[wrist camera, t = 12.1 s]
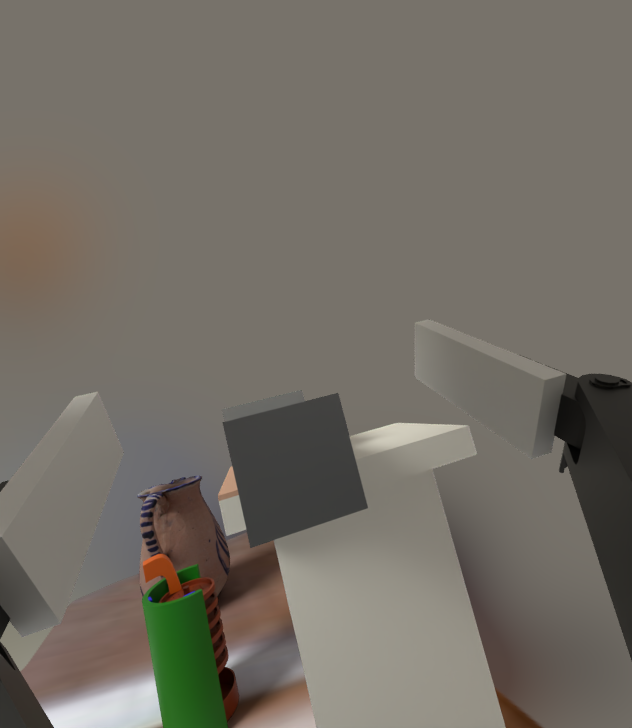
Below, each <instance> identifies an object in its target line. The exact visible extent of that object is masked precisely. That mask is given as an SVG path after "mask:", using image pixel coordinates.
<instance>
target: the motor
mask: <svg viewBox="0 0 632 728" xmlns="http://www.w3.org/2000/svg"><path fill="white" fill-rule="evenodd" d="M143 570H144V575H145V581H146V583H147V582H149V581H150V580H152V579H154V578H156V577H158V576H164V577H165V578H164V579H162V580H160V581H159V582H157V583H156V584H155V585H153V586H152V587H151V588H150V589H149V590H148V591H147V592H146V593H145V595H144V596H143V598H142V603H143V609H144V615H145V621H146V627H147V633H148V639H149V645H150V651H151V657H152V663H153V669H154V675H155V681H156V687H157V693H158V699H159V705H160V711H161V717H162V723H163V728H228V725H227V721H228V720H229V719H230V717H231V716H232V714H233V713H234V711H235V709H236V707H237V705H238V701H239V693H238V688H237V683H236V678H235V673H234V672H233V670H231V669H230V668H227V667H225V665H226V663H227V661H228V650H227V647H226V645H225V644H226V640H225V635H224V633H223V624H222V620H221V619H220V609H219V606H218V605H217V603H218V598H217V593H216V592H215V591H214V590H215V582H214V580H213V579H212V578H209V577H203V578H201V576H200V571H199V565H198V564H196V565H193V566H189V567H187V568H184V569H182V570H179V571H177V572H176V571H175V568H174V566H173V564H172V562H171V560H170V559H169V558H168V557H167V556H166V555H165V554H157V555H155V556H153V557H151V558H149V559H147V560H145V561H144V562H143Z"/></svg>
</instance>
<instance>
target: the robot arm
mask: <svg viewBox="0 0 632 728" xmlns="http://www.w3.org/2000/svg"><path fill="white" fill-rule="evenodd" d="M415 378H417V379H418V380H420V381H421V382H423V383H424V384H425V385H427V386H428V387H430V388H431V389H432V390H434V391H435V392H437V393H439V394H440V395H441V396H442V397H444V398H445V399H447V400H448V401H450V402H451V403H452V404H454V405H455V406H457V407H458V408H460V409H461V410H462V411H464V412H465V413H467V414H468V415H470V416H471V417H472V418H474V419H475V420H477V421H478V422H480V423H481V424H482V425H484V426H485V427H487V428H488V429H489V430H491V431H492V432H494V433H495V434H497V435H498V436H499V437H501V438H502V439H504V440H505V441H507V442H508V443H509V444H511V445H512V446H514V447H515V448H517V449H518V450H519V451H521V452H522V453H524V454H525V455H527V456H528V457H529V458H531V459H533V458H536V457H539V456H542V455H545V454H548V453H551V451H552V446H553V441H554V436H557V437H558V438H560V439H562V440H564V441H565V444H564V449H563V454H562V458H561V463H560V468H559V472H561V473H563V472H564V468H566V467H567V466H568V468H569V471H570V474H571V478H572V481H573V484H574V487H575V489H576V493H577V496H578V499H579V502H580V505H581V508H582V511H583V514H584V517H585V520H586V523H587V526H588V529H589V532H590V535H591V538H592V541H593V544H594V547H595V550H596V553H597V556H598V560H599V563H600V566H601V569H602V572H603V574H604V578H605V581H606V584H607V586H608V590H609V593H610V596H611V599H612V602H613V605H614V608H615V611H616V614H617V617H618V620H619V623H620V626H621V629H622V632H623V636H624V639H625V642H626V645H627V647H628V650H629V654H630V657H631V660H632V383H631V382H630V381H628V380H626V379H623V378H620V377H615V376H612V375H605V374H588V375H582V376H581V377H579V378H577V377H574V376H572V375H569V374H567V373H564V372H561V371H559V370H557V369H554V368H551V367H549V366H546V365H543V364H541V363H539V362H536V361H533V360H531V359H529V358H526V357H524V356H521V355H518V354H515V353H512V352H510V351H508V350H505V349H503V348H500V347H497V346H495V345H493V344H490V343H488V342H485V341H483V340H480V339H477V338H475V337H472V336H470V335H467V334H465V333H462V332H460V331H457V330H455V329H452V328H450V327H447V326H445V325H442V324H440V323H437V322H435V321H432V320H430V319H429V320H424V321H420V322H415ZM123 453H124V452H123V449H122V447H121V445H120V442H119V440H118V438H117V436H116V433H115V431H114V428H113V426H112V423H111V421H110V419H109V416H108V414H107V412H106V410H105V407H104V405H103V402H102V400H101V398H100V395H99V393H98V392H95V393H90V394H85V395H81V396H76V397H74V399H73V400H72V401H71V403H70V404H69V405H68V406H67V408H66V409H65V410H64V411H63V413H62V414H61V415H60V417H59V418H58V419H57V420H56V422H55V423H54V424H53V425H52V427H51V428H50V429H49V431H48V432H47V433H46V434H45V436H44V437H43V438H42V439H41V441H40V442H39V443H38V445H37V446H36V447H35V448H34V450H33V451H32V453H31V454H30V455H29V456H28V457H27V459H26V460H25V461H24V462H23V464H22V465H21V466H20V468H19V469H18V470H17V471H16V473H15V474H14V475H13V477H12V478H11V479H10V480H9V481H5V482H2V483H1V484H0V638H1V636H2V634H3V632H4V630H5V628H6V626H7V624H8V622H9V621H10V622H11V623H12V625H13V626H14V627H15V628H16V630H17V631H18V632H19V634H20V635H21V636H22V637H24V636H27V635H29V634H32V633H35V632H38V631H41V630H44V629H47V628H50V627H52V626H55V625H58V624H61V622H62V619H63V616H64V614H65V611H66V608H67V606H68V603H69V600H70V597H71V595H72V592H73V589H74V586H75V584H76V581H77V578H78V575H79V573H80V570H81V567H82V565H83V562H84V559H85V556H86V554H87V551H88V548H89V546H90V543H91V540H92V537H93V535H94V532H95V529H96V527H97V524H98V521H99V518H100V515H101V513H102V510H103V507H104V504H105V502H106V499H107V496H108V494H109V491H110V488H111V486H112V483H113V480H114V477H115V475H116V472H117V469H118V467H119V464H120V461H121V458H122V456H123ZM0 728H54V727H53V725H52V724H51V722H50V720H49V719H48V717H47V715H46V714H45V712H44V710H43V709H42V707H41V706H40V704H39V702H38V701H37V699H36V697H35V696H34V694H33V692H32V691H31V689H30V687H29V686H28V684H27V682H26V681H25V679H24V677H23V676H22V674H21V672H20V671H19V669H18V668H17V666H16V664H15V663H14V661H13V659H12V658H11V656H10V654H9V653H8V651H7V649H6V648H5V647H4V646H3V645H2V643H1V642H0Z"/></svg>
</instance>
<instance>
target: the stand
mask: <svg viewBox="0 0 632 728" xmlns="http://www.w3.org/2000/svg"><path fill="white" fill-rule="evenodd" d="M349 437H350V440H351V444H352V448H353V452H354V456H355V460H356V463H357V467H358V471H359V475H360V479H361V483H362V486H363V490H364V494H365V498H366V502H367V506H368V508H367V509H364V510H361V511H358V512H355V513H352V514H349V515H346V516H343V517H340V518H338V519H335V520H332V521H329V522H326V523H323V524H320V525H317V526H314V527H311V528H308V529H305V530H302V531H299V532H296V533H293V534H290V535H287V536H284V537H281V538H278V539H275V540H274V544H275V548H276V552H277V557H278V561H279V565H280V570H281V574H282V578H283V583H284V587H285V592H286V596H287V600H288V605H289V609H290V613H291V618H292V622H293V626H294V631H295V635H296V639H297V644H298V648H299V653H300V657H301V661H302V666H303V670H304V674H305V679H306V683H307V687H308V692H309V696H310V700H311V705H312V709H313V714H314V718H315V722H316V727H317V728H506V727H505V723H504V720H503V716H502V713H501V709H500V706H499V702H498V699H497V695H496V692H495V688H494V684H493V681H492V677H491V674H490V670H489V667H488V664H487V660H486V656H485V653H484V649H483V646H482V642H481V639H480V635H479V632H478V628H477V625H476V621H475V618H474V614H473V610H472V607H471V603H470V600H469V596H468V593H467V589H466V586H465V582H464V579H463V575H462V572H461V569H460V565H459V561H458V558H457V554H456V551H455V547H454V544H453V540H452V537H451V533H450V529H449V526H448V523H447V519H446V515H445V512H444V508H443V505H442V501H441V498H440V494H439V491H438V487H437V484H436V480H435V477H434V473H433V470H432V469H433V468H437V467H440V466H443V465H446V464H449V463H452V462H455V461H458V460H461V459H464V458H467V457H470V456H473V455H477V453H476V449H475V446H474V442H473V439H472V436H471V432H470V429H469V426H467V425H439V424H413V423H395V424H391V425H388V426H384V427H381V428H377V429H374V430H370V431H367V432H363V433H360V434H356V435H353V436H349ZM218 499H219V504H220V508H221V513H222V517H223V522H224V527H225V532H226V535H231V534H234V533H237V532H240V531H243V530H246V525H245V521H244V516H243V512H242V507H241V503H240V498H239V494H238V489H237V485H236V480H235V476H234V471H233V467H230V469H229V471H228V474H227V476H226V478H225V481H224V483H223V485H222V487H221V490H220V492H219V494H218Z"/></svg>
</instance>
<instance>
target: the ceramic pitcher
mask: <svg viewBox="0 0 632 728" xmlns="http://www.w3.org/2000/svg"><path fill="white" fill-rule="evenodd" d="M201 479H202V477H201V476H194V477H189V478H187V479H186V478H185V477H183V478H180V479H178V480H172V482H171V483H169V484H161V485H158V486H153V487H151V488H148V489H146V490H143V491H141V492H140V493H139V494H138V495H137V497H138V498H140V499H142V500H143V502H144V503H143V505H142V509H141V515H140V528H141V533H142V537H143V542H142V550H141V558H140V571H139V582H140V588H141V592H142V596H144V595H145V593H146V592H147V591H148V590H149V589H150V588H151V587H152V586H153V585H155V584H156V583H157V582H159V581H160V580H162V579H164V578H165V577H164V576H158V577H156V578H154V579H152V580H150V581H149V582H147V583H146V581H145V575H144V570H143V562H144V561H145V560H147V559H149V558H151V557H153V556H155V555H157V554H165V555H166V556H167V557H168V558H169V559H170V560H171V562H172V564H173V566H174V568H175V571H176V572H177V571H179V570H182V569H184V568H187V567H189V566H193V565H196V564H198V565H199V571H200V576H201V578H203V577H209V578H212V579H213V580H214V582H215V590H214V591H215V592H216V593H217V596H218V594H219V593H220V591H221V590H222V588H223V587H224V585H225V583H226V580H227V577H228V573H229V568H230V555H229V550H228V546H227V543H226V540H225V538H224V535H223V533H222V531H221V529H220V526H219V524H218V523H217V521H216V519H215V517H214V516H213V514H212V513H211V510H210V509H209V507H208V506H207V504H206V502H205V500H204V498H203V497H202V495H201V492H200V481H201Z"/></svg>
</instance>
